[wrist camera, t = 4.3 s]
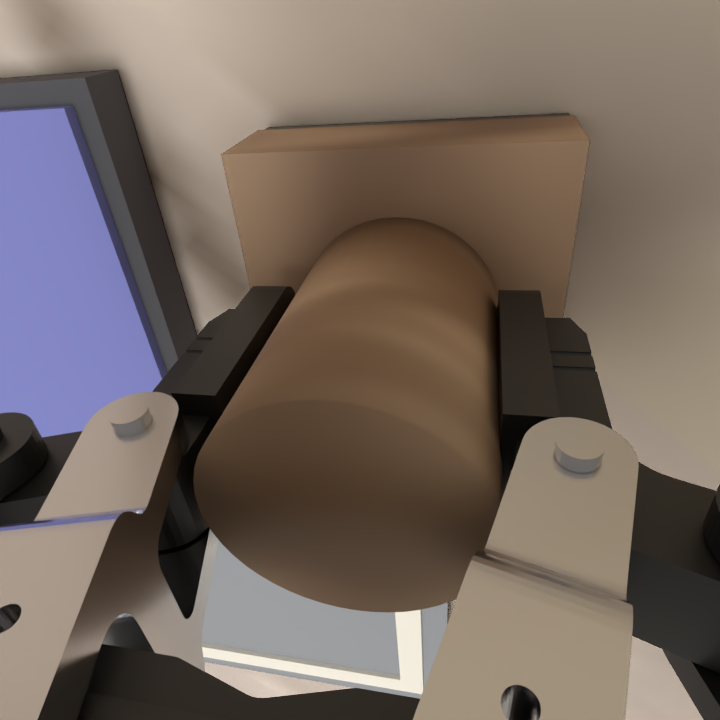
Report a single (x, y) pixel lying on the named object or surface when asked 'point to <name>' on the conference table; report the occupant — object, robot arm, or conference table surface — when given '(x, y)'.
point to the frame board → (315, 635)
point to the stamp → (383, 346)
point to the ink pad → (80, 254)
